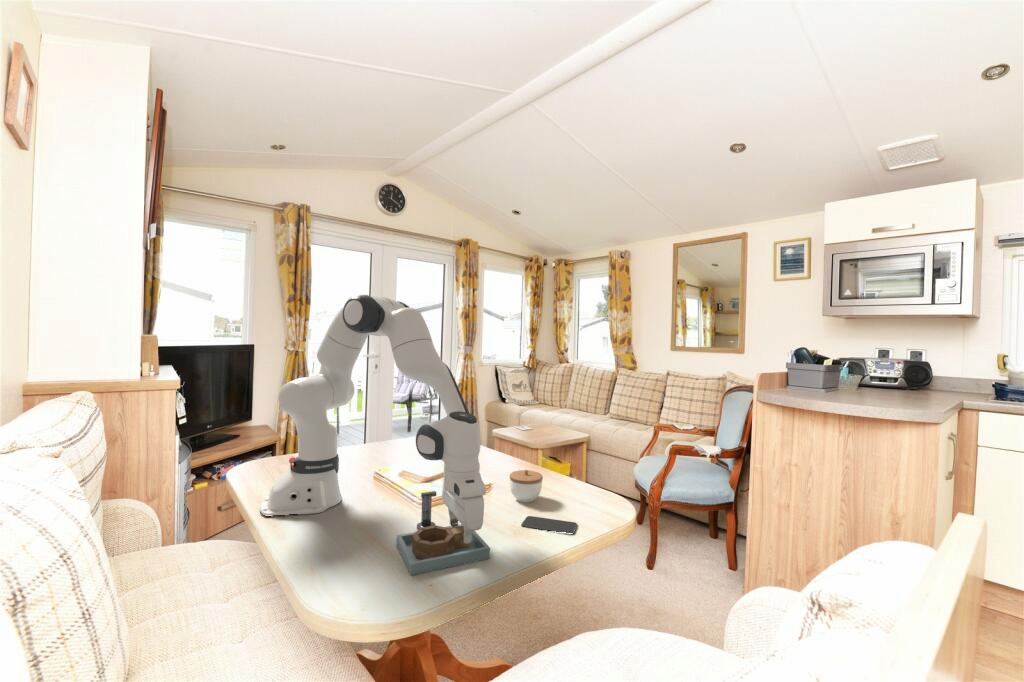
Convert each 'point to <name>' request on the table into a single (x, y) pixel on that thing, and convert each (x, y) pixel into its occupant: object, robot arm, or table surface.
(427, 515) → the stake
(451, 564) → the tray
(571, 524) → the smartphone
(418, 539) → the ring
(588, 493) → the table surface
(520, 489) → the lidded jar
